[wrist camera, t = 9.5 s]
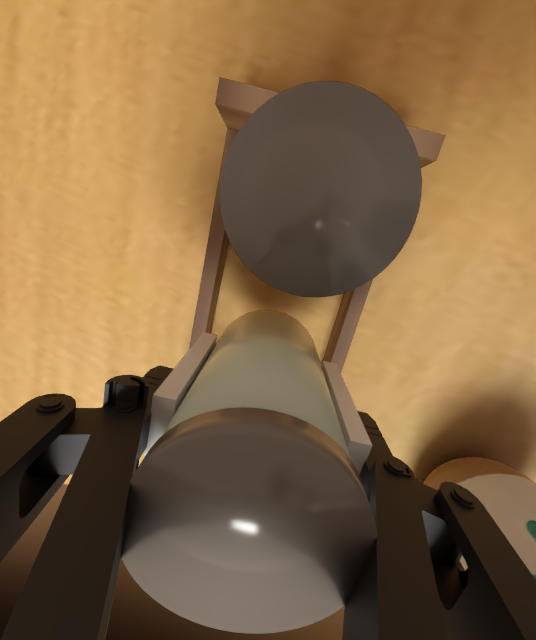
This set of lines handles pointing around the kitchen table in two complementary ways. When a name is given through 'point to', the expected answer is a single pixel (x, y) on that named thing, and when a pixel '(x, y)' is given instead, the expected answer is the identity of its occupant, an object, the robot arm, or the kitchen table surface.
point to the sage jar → (251, 490)
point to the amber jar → (320, 189)
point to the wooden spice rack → (235, 110)
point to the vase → (497, 499)
